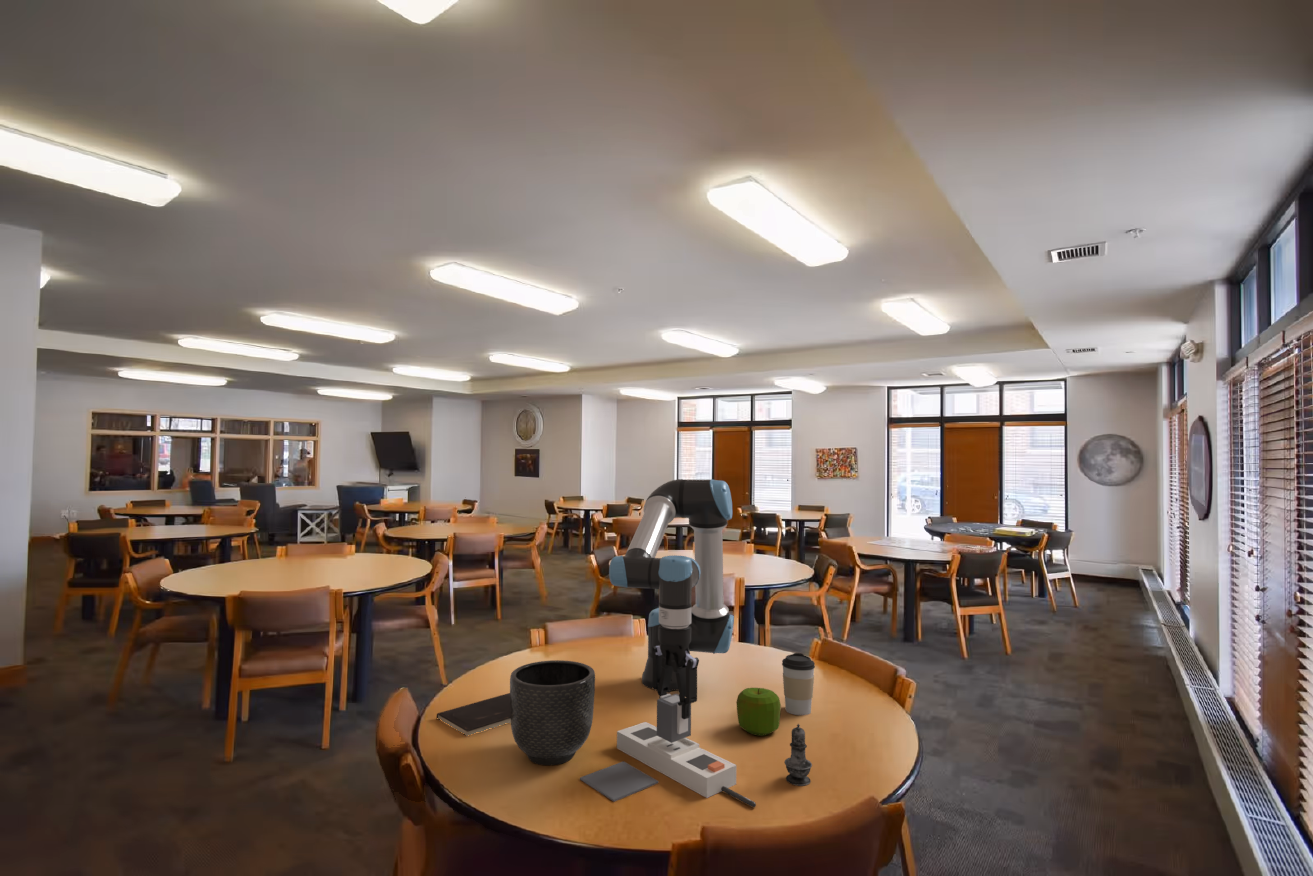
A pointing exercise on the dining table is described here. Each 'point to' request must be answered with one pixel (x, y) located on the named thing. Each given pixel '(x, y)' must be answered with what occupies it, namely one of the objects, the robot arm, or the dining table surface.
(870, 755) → the dining table surface
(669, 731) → the charger
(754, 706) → the apple
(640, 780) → the mat
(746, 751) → the dining table surface
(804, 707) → the coffee cup
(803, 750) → the grey chess piece
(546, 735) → the planter
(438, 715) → the hardcover book
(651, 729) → the strip
